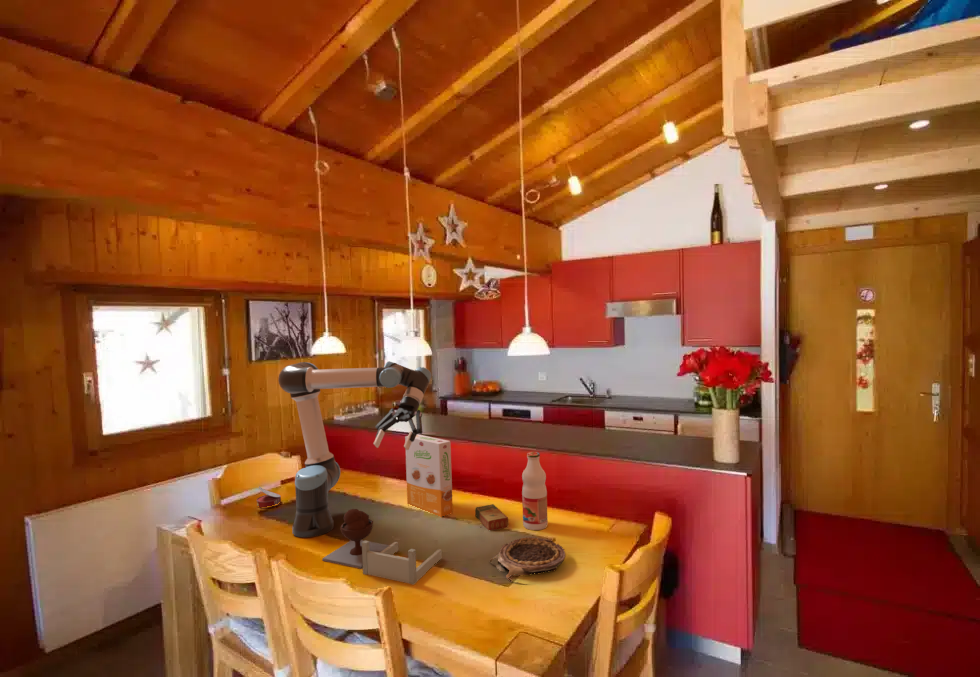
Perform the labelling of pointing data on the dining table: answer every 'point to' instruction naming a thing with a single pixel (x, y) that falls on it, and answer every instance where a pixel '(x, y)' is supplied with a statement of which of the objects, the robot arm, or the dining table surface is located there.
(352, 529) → the ice cream bowl
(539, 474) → the fruit juice
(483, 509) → the carton
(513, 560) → the pie
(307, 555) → the dining table surface
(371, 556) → the open crate
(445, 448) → the cereal box
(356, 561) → the slate mat
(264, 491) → the canned food
